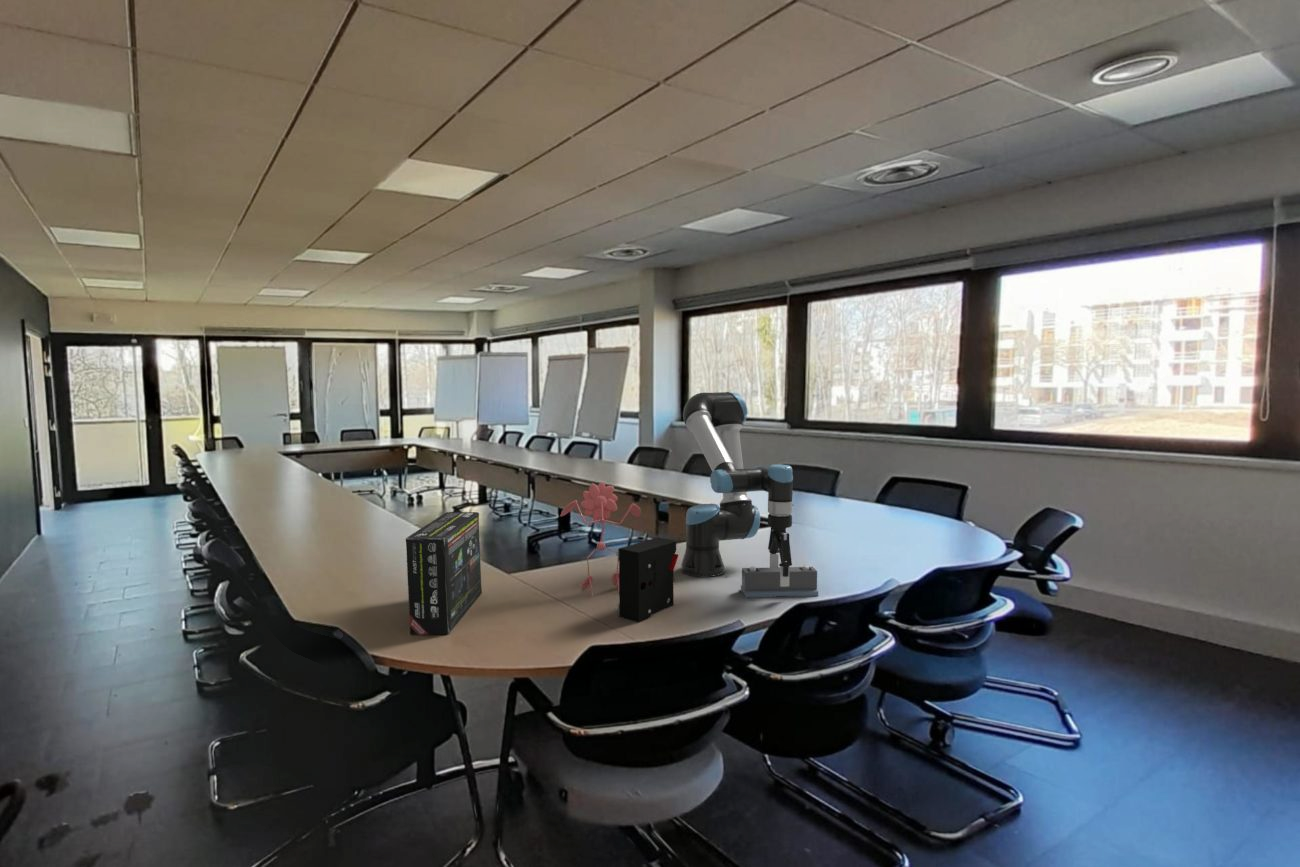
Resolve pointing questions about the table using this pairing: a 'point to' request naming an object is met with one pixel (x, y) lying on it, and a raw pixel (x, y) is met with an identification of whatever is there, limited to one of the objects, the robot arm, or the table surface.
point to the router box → (443, 572)
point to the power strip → (778, 579)
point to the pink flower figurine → (600, 506)
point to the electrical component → (646, 578)
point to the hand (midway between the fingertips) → (779, 579)
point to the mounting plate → (781, 592)
